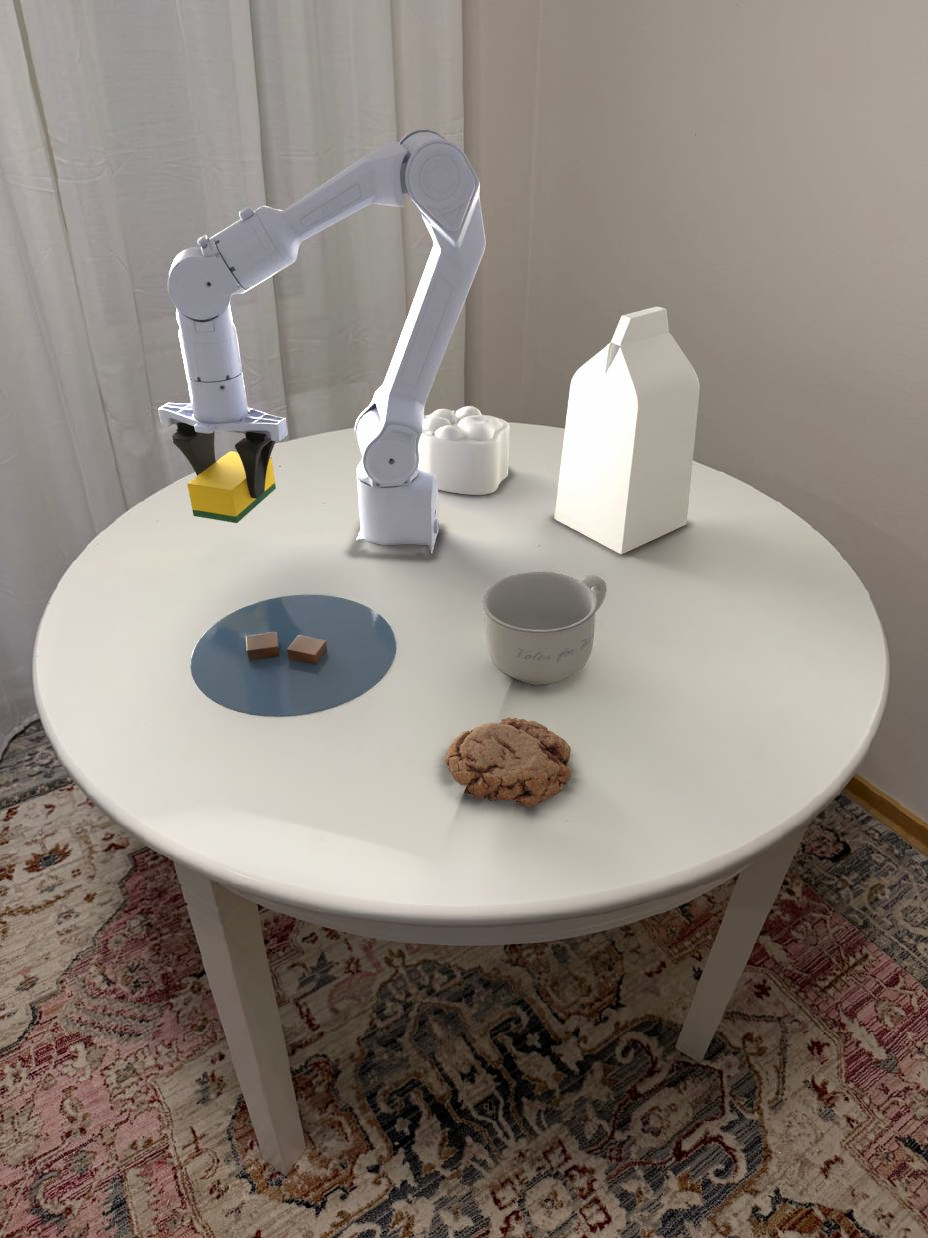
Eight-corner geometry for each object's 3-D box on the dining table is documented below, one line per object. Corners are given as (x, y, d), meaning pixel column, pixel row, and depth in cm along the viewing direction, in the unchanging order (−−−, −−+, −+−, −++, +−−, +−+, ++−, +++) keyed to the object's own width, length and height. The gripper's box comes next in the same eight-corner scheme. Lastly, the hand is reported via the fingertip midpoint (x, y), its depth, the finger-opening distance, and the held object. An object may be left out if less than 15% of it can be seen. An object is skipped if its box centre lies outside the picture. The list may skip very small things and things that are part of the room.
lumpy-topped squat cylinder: (488, 498, 116) (490, 437, 111) (399, 482, 120) (397, 422, 115) (514, 467, 124) (516, 409, 119) (429, 453, 128) (428, 396, 123)
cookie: (430, 748, 77) (429, 722, 75) (539, 720, 80) (541, 694, 78) (471, 829, 69) (471, 803, 68) (591, 794, 72) (594, 768, 71)
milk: (621, 554, 105) (647, 334, 90) (554, 518, 112) (568, 310, 97) (686, 524, 111) (721, 314, 96) (619, 492, 118) (641, 292, 103)
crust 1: (278, 641, 88) (276, 631, 87) (279, 656, 86) (278, 646, 85) (247, 645, 87) (245, 635, 86) (248, 660, 85) (246, 650, 84)
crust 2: (327, 650, 86) (326, 640, 86) (316, 665, 84) (315, 655, 84) (299, 644, 87) (298, 634, 86) (288, 659, 85) (286, 649, 85)
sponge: (276, 488, 103) (272, 456, 101) (237, 523, 96) (231, 490, 94) (234, 482, 105) (229, 450, 102) (193, 516, 98) (186, 483, 95)
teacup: (516, 712, 81) (519, 642, 76) (462, 650, 89) (462, 583, 84) (638, 670, 86) (649, 602, 82) (577, 614, 94) (583, 549, 90)
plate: (411, 611, 95) (411, 600, 94) (376, 736, 78) (375, 724, 77) (231, 599, 96) (229, 588, 96) (160, 719, 80) (157, 707, 79)
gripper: (132, 378, 91) (158, 496, 98) (257, 393, 87) (274, 515, 95) (171, 357, 96) (192, 471, 104) (290, 370, 92) (303, 487, 100)
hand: (233, 490), depth 100 cm, fingers closed on sponge, 5 cm apart
